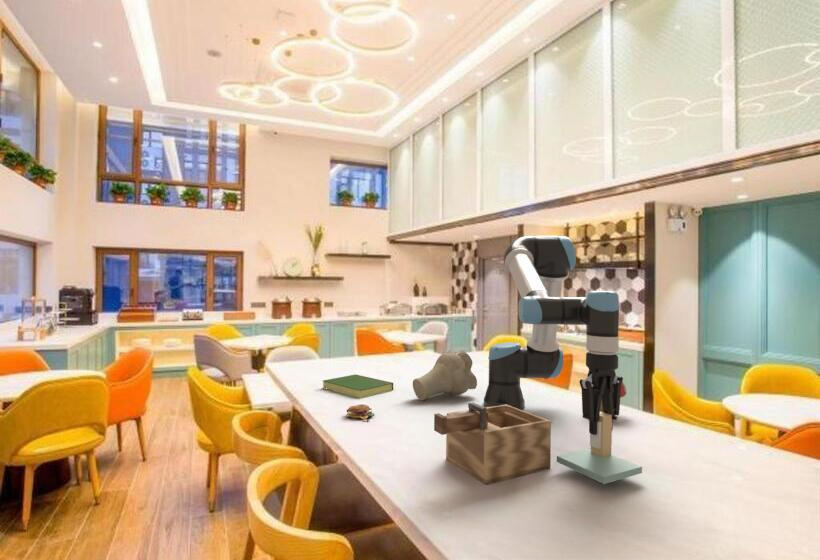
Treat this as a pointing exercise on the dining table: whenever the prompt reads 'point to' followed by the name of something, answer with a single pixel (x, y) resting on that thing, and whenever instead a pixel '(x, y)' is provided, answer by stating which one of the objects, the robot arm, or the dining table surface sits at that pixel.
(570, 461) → the lid
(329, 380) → the hardcover book
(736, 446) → the dining table surface
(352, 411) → the hamburger
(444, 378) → the beige knobby lump
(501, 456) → the toolbox
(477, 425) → the block
